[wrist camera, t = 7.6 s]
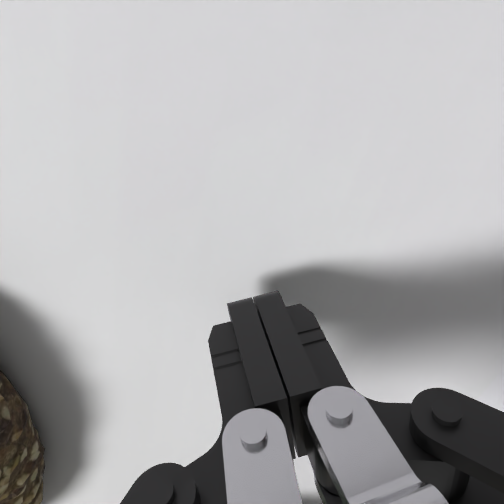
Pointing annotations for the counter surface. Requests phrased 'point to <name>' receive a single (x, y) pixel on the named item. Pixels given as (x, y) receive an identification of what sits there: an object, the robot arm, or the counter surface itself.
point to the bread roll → (18, 450)
